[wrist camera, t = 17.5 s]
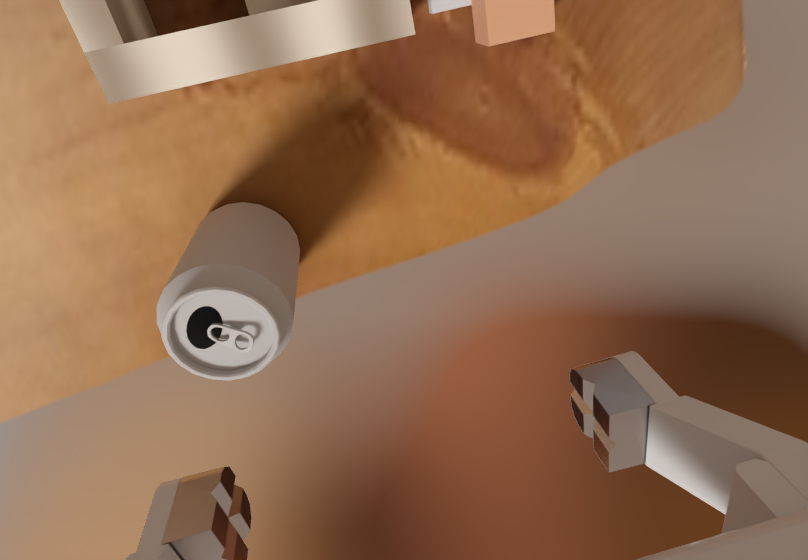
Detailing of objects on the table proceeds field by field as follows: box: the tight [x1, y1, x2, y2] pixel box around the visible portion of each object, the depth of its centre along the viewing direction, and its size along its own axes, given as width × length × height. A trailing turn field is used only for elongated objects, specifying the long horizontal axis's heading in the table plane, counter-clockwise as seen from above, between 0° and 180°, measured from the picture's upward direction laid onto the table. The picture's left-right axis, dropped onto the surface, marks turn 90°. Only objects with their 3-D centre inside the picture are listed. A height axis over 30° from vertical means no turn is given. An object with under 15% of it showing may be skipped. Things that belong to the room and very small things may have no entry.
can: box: [157, 202, 300, 380], centre depth 32 cm, size 8×8×12 cm
